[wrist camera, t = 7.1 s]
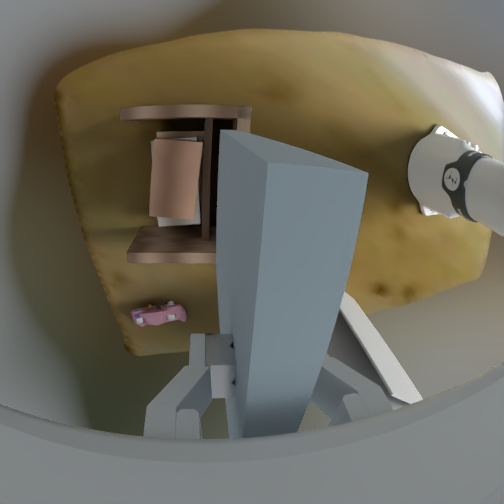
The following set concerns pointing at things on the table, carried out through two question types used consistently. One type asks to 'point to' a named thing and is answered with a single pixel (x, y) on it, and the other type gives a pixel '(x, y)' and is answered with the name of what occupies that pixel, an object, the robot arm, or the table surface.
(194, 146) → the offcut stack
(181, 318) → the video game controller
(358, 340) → the brochure
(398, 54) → the table surface
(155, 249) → the rack
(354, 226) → the sheet
